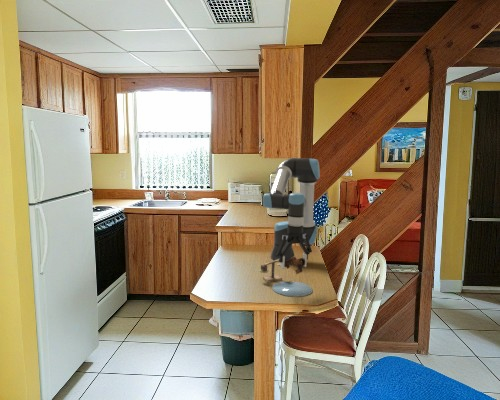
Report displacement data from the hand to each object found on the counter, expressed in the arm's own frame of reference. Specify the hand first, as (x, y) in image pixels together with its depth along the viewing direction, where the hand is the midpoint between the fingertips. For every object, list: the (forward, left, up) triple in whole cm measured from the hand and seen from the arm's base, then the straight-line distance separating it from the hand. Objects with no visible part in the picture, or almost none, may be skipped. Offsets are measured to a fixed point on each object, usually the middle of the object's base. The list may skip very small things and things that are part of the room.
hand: (293, 267), depth 204 cm
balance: (+3, -16, -11) cm, 20 cm away
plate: (0, 0, -11) cm, 11 cm away
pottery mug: (0, +1, -2) cm, 2 cm away
